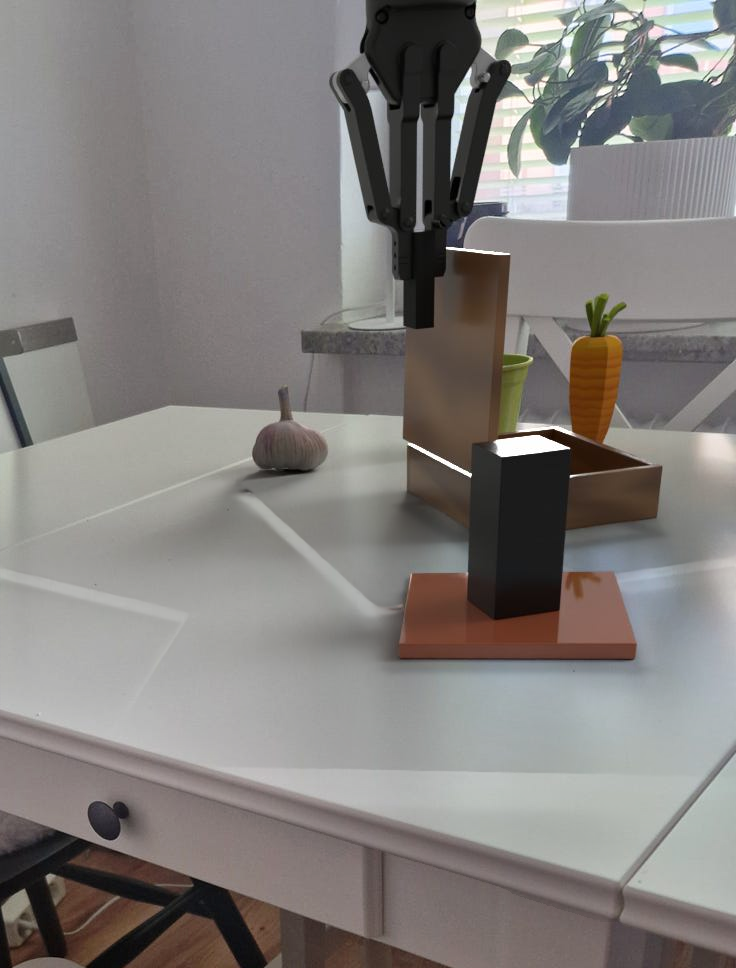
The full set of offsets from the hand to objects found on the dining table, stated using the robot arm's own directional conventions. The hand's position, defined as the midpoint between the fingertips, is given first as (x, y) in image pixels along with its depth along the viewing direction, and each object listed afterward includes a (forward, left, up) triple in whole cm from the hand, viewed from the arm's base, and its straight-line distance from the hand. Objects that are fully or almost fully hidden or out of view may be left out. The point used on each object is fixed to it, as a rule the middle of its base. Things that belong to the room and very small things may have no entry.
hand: (418, 326), depth 89 cm
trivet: (-7, +23, -15) cm, 29 cm away
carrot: (-15, -21, -15) cm, 30 cm away
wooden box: (-9, -4, -15) cm, 18 cm away
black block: (-7, +23, -14) cm, 28 cm away
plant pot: (-5, -28, -15) cm, 32 cm away
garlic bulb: (+14, -22, -15) cm, 30 cm away
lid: (-3, -1, -2) cm, 4 cm away
